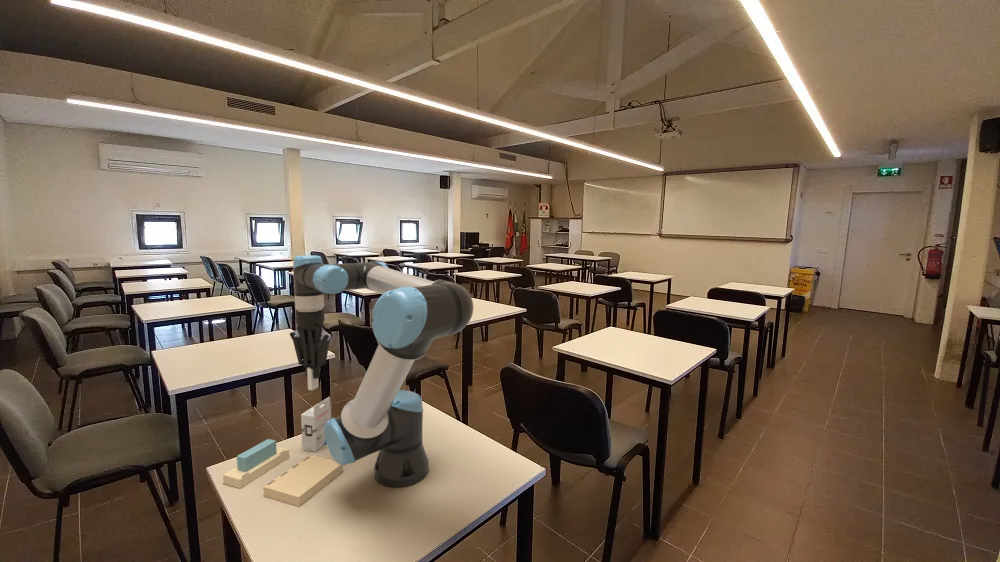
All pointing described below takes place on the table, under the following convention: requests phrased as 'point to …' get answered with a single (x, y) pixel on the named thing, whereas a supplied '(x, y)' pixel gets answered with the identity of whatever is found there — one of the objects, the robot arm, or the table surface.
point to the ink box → (315, 425)
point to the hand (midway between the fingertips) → (313, 388)
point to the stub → (255, 463)
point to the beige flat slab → (303, 480)
